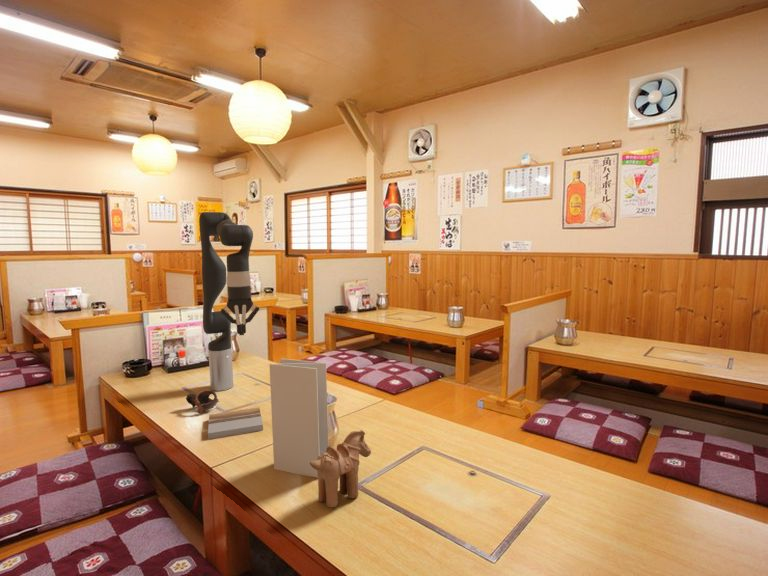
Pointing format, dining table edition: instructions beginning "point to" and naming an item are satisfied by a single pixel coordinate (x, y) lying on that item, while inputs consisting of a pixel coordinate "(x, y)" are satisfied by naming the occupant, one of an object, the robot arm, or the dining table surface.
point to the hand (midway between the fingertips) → (241, 334)
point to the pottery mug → (202, 400)
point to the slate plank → (235, 427)
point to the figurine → (340, 468)
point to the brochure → (298, 414)
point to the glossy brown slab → (234, 415)
